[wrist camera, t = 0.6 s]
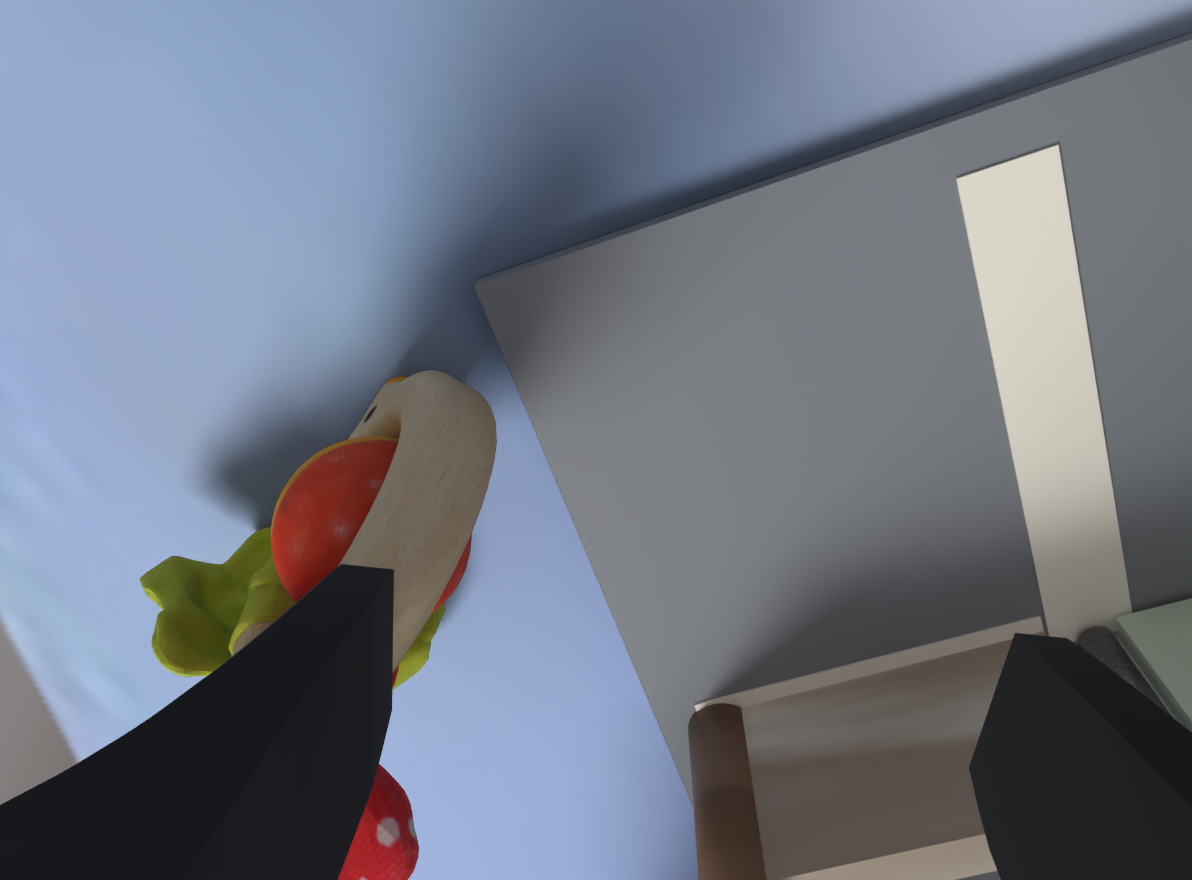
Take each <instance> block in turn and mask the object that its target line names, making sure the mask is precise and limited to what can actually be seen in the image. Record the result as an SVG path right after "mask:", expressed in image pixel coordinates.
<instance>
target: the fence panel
mask: <svg viewBox="0 0 1192 880" xmlns="http://www.w3.org/2000/svg"><path fill="white" fill-rule="evenodd" d="M1116 623H1117V629H1118V635H1119V641H1120V642H1119V641H1118V640H1117V638H1116V637H1115V635H1114V634H1113V633H1112V631H1111V630H1110V629H1108V628H1106V627H1103V626H1095V627H1091V628H1088V629H1086V630H1085V631H1083V632H1082V633H1081V634H1080V636H1079V637H1078V639H1077V645H1078V646H1080V647H1081V648H1083V649H1084V650H1086V651H1087V652H1088V653H1090V654H1091V655H1093V656H1094V657H1095V658H1097V659H1098V660H1099V661H1101V662H1102V663H1103V664H1105V665H1106V666H1107V667H1109V668H1110V669H1111V670H1113V671H1114V672H1115V673H1116V674H1118V675H1119V676H1120V677H1122V678H1123V679H1124V680H1126V681H1127V682H1128V683H1129V684H1131V685H1132V686H1133V687H1135V688H1136V689H1137V690H1138V691H1140V692H1141V693H1142V694H1143V695H1145V696H1146V697H1147V698H1148V699H1150V700H1151V701H1152V702H1154V703H1155V704H1156V705H1157V706H1159V707H1160V708H1161V709H1162V710H1164V711H1165V712H1166V713H1168V714H1169V715H1170V716H1171V717H1173V718H1174V719H1175V720H1176V721H1178V722H1179V723H1180V724H1182V725H1183V726H1184V727H1185V728H1187V729H1188V730H1189V731H1191V732H1192V598H1191V599H1187V600H1183V601H1179V602H1175V603H1171V604H1167V605H1163V606H1159V607H1155V608H1151V609H1147V610H1143V611H1139V612H1135V613H1131V614H1127V615H1123V616H1119V617H1116Z"/></svg>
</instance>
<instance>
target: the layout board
mask: <svg viewBox="0 0 1192 880" xmlns="http://www.w3.org/2000/svg"><path fill="white" fill-rule="evenodd" d="M474 288H475V290H476V292H477V295H478V297H479V300H480V302H481V304H482V307H483V309H484V311H485V314H486V316H487V319H488V321H489V323H490V326H491V328H492V330H493V333H494V335H495V338H496V340H497V342H498V345H499V347H500V349H501V352H502V354H503V357H504V359H505V361H506V364H507V366H508V369H509V371H510V373H511V376H512V378H513V380H514V383H515V385H516V388H517V390H518V392H519V395H520V397H521V399H522V402H523V404H524V407H525V409H526V411H527V414H528V416H529V418H530V421H531V423H532V426H533V428H534V430H535V433H536V435H537V437H538V440H539V442H540V445H541V447H542V449H543V452H544V454H545V456H546V459H547V461H548V464H549V466H550V468H551V471H552V473H553V475H554V478H555V480H556V483H557V485H558V487H559V490H560V492H561V494H562V497H563V499H564V502H565V504H566V506H567V509H568V511H569V513H570V516H571V518H572V521H573V523H574V525H575V528H576V530H577V532H578V535H579V537H580V540H581V542H582V544H583V547H584V549H585V551H586V554H587V556H588V559H589V561H590V563H591V566H592V568H593V570H594V573H595V575H596V578H597V580H598V582H599V585H600V587H601V589H602V592H603V594H604V597H605V599H606V601H607V604H608V606H609V608H610V611H611V613H612V616H613V618H614V620H615V623H616V625H617V627H618V630H619V632H620V635H621V637H622V639H623V642H624V644H625V646H626V649H627V651H628V654H629V656H630V658H631V661H632V663H633V665H634V668H635V670H636V673H637V675H638V677H639V680H640V682H641V685H642V687H643V689H644V692H645V694H646V696H647V699H648V701H649V704H650V706H651V708H652V711H653V713H654V715H655V718H656V720H657V723H658V725H659V727H660V730H661V732H662V734H663V737H664V739H665V742H666V744H667V746H668V749H669V751H670V753H671V756H672V758H673V761H674V763H675V765H676V768H677V770H678V772H679V775H680V777H681V780H682V782H683V784H684V787H685V789H686V791H687V794H688V796H689V799H690V801H691V803H692V806H693V808H694V805H693V791H692V777H691V764H690V750H689V736H688V724H689V721H690V718H691V717H692V715H693V714H694V713H695V712H696V711H697V712H698V711H699V710H701V709H702V708H704V707H706V706H709V705H712V704H718V703H727V704H733V705H736V706H739V707H741V708H742V707H746V706H750V705H754V704H757V703H761V702H765V701H769V700H773V699H777V698H781V697H785V696H789V695H793V694H797V693H801V692H805V691H809V690H813V689H817V688H821V687H825V686H829V685H833V684H837V683H841V682H845V681H848V680H852V679H856V678H860V677H864V676H868V675H872V674H876V673H880V672H884V671H888V670H892V669H896V668H900V667H904V666H908V665H912V664H916V663H920V662H924V661H928V660H932V659H935V658H939V657H943V656H947V655H951V654H955V653H959V652H963V651H967V650H971V649H975V648H979V647H983V646H987V645H991V644H995V643H999V642H1003V641H1007V640H1011V639H1013V637H1014V634H1015V633H1022V634H1034V633H1038V632H1042V631H1044V633H1045V634H1046V636H1051V637H1061V638H1068V639H1069V640H1071V641H1072V642H1074V643H1075V644H1077V639H1078V637H1079V636H1080V634H1081V633H1082V632H1083V631H1085V630H1086V629H1088V628H1091V627H1095V626H1103V627H1106V628H1108V629H1110V630H1111V631H1112V633H1113V634H1114V635H1115V637H1116V638H1117V640H1118V641H1119V635H1118V629H1117V623H1116V617H1119V616H1123V615H1127V614H1131V613H1135V612H1139V611H1143V610H1147V609H1151V608H1155V607H1159V606H1163V605H1167V604H1171V603H1175V602H1179V601H1183V600H1187V599H1191V598H1192V32H1191V33H1188V34H1185V35H1183V36H1180V37H1177V38H1174V39H1171V40H1168V41H1165V42H1162V43H1159V44H1157V45H1154V46H1151V47H1148V48H1145V49H1142V50H1139V51H1136V52H1133V53H1131V54H1128V55H1125V56H1122V57H1119V58H1116V59H1113V60H1110V61H1107V62H1104V63H1102V64H1099V65H1096V66H1093V67H1090V68H1087V69H1084V70H1081V71H1078V72H1076V73H1073V74H1070V75H1067V76H1064V77H1061V78H1058V79H1055V80H1052V81H1050V82H1047V83H1044V84H1041V85H1038V86H1035V87H1032V88H1029V89H1026V90H1023V91H1021V92H1018V93H1015V94H1012V95H1009V96H1006V97H1003V98H1000V99H997V100H995V101H992V102H989V103H986V104H983V105H980V106H977V107H974V108H971V109H969V110H966V111H963V112H960V113H957V114H954V115H951V116H948V117H945V118H943V119H940V120H937V121H934V122H931V123H928V124H925V125H922V126H919V127H916V128H914V129H911V130H908V131H905V132H902V133H899V134H896V135H893V136H890V137H888V138H885V139H882V140H879V141H876V142H873V143H870V144H867V145H864V146H862V147H859V148H856V149H853V150H850V151H847V152H844V153H841V154H838V155H835V156H833V157H830V158H827V159H824V160H821V161H818V162H815V163H812V164H809V165H807V166H804V167H801V168H798V169H795V170H792V171H789V172H786V173H783V174H781V175H778V176H775V177H772V178H769V179H766V180H763V181H760V182H757V183H754V184H752V185H749V186H746V187H743V188H740V189H737V190H734V191H731V192H728V193H726V194H723V195H720V196H717V197H714V198H711V199H708V200H705V201H702V202H700V203H697V204H694V205H691V206H688V207H685V208H682V209H679V210H676V211H673V212H671V213H668V214H665V215H662V216H659V217H656V218H653V219H650V220H647V221H645V222H642V223H639V224H636V225H633V226H630V227H627V228H624V229H621V230H619V231H616V232H613V233H610V234H607V235H604V236H601V237H598V238H595V239H592V240H590V241H587V242H584V243H581V244H578V245H575V246H572V247H569V248H566V249H564V250H561V251H558V252H555V253H552V254H549V255H546V256H543V257H540V258H538V259H535V260H532V261H529V262H526V263H523V264H520V265H517V266H514V267H512V268H509V269H506V270H503V271H500V272H497V273H494V274H491V275H488V276H485V277H483V278H480V279H477V282H476V284H475V286H474ZM1119 642H1120V641H1119ZM998 879H1000V876H999V874H998V871H993V872H988V873H984V874H979V875H974V876H970V877H965V878H960V879H956V880H998Z"/></svg>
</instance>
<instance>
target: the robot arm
mask: <svg viewBox="0 0 1192 880" xmlns="http://www.w3.org/2000/svg"><path fill="white" fill-rule="evenodd" d="M393 606H394V569H386V568H376V567H366V566H356V565H347V564H341V565H339V566H338V567H337V568H335V569H334V570H333V571H332V572H330V573H329V574H328V575H327V576H326V577H325V578H323V579H322V580H321V581H320V582H319V583H318V584H316V585H315V586H314V587H313V588H312V589H311V590H310V591H309V592H307V593H306V594H305V595H304V596H303V597H302V598H301V599H300V600H298V601H297V602H296V603H295V604H294V605H293V606H292V607H290V608H289V609H288V610H287V611H286V612H285V613H283V614H282V615H281V616H280V617H279V618H278V619H277V620H275V621H274V622H273V623H272V624H271V625H270V626H268V627H267V628H266V629H265V630H264V631H262V632H261V633H260V634H259V635H258V636H256V637H255V638H254V639H253V640H251V641H250V642H249V643H248V644H247V645H245V646H244V647H243V648H242V649H241V650H239V651H238V652H237V653H236V654H234V655H233V656H232V657H231V658H230V659H228V660H227V661H226V662H225V663H223V664H222V665H221V666H220V667H218V668H217V669H216V670H214V671H213V672H212V673H211V674H209V675H208V676H207V677H205V678H204V679H202V680H201V681H200V682H198V683H197V684H196V685H194V686H193V687H192V688H190V689H189V690H188V691H186V692H185V693H184V694H182V695H181V696H179V697H178V698H177V699H175V700H174V701H173V702H171V703H170V704H169V705H167V706H166V707H165V708H163V709H162V710H160V711H159V712H158V713H156V714H155V715H153V716H152V717H150V718H149V719H148V720H146V721H145V722H143V723H142V724H140V725H139V726H137V727H136V728H134V729H133V730H131V731H129V732H128V733H126V734H125V735H123V736H122V737H120V738H119V739H117V740H115V741H114V742H112V743H110V744H109V745H107V746H105V747H104V748H102V749H100V750H99V751H97V752H96V753H94V754H92V755H91V756H89V757H87V758H86V759H84V760H82V761H81V762H79V763H77V764H76V765H74V766H72V767H71V768H69V769H67V770H65V771H64V772H62V773H60V774H58V775H56V776H55V777H53V778H51V779H49V780H47V781H45V782H43V783H41V784H39V785H37V786H36V787H34V788H32V789H30V790H28V791H26V792H24V793H22V794H20V795H18V796H17V797H15V798H13V799H11V800H9V801H7V802H5V803H3V804H1V805H0V880H338V878H339V875H340V873H341V870H342V868H343V865H344V862H345V860H346V857H347V855H348V852H349V849H350V847H351V844H352V841H353V839H354V836H355V833H356V831H357V828H358V825H359V823H360V820H361V818H362V815H363V812H364V810H365V807H366V804H367V802H368V799H369V796H370V793H371V791H372V788H373V784H374V780H375V776H376V772H377V768H378V764H379V761H380V757H381V753H382V749H383V745H384V740H385V736H386V732H387V728H388V724H389V720H390V716H391V711H392V672H393ZM969 771H970V775H971V779H972V784H973V788H974V792H975V796H976V801H977V805H978V809H979V813H980V817H981V821H982V824H983V828H984V832H985V835H986V839H987V843H988V846H989V850H990V853H991V855H992V858H993V861H994V863H995V866H996V868H997V871H998V874H999V876H1000V879H1001V880H1192V732H1191V731H1189V730H1188V729H1187V728H1185V727H1184V726H1183V725H1182V724H1180V723H1179V722H1178V721H1176V720H1175V719H1174V718H1173V717H1171V716H1170V715H1169V714H1168V713H1166V712H1165V711H1164V710H1162V709H1161V708H1160V707H1159V706H1157V705H1156V704H1155V703H1154V702H1152V701H1151V700H1150V699H1148V698H1147V697H1146V696H1145V695H1143V694H1142V693H1141V692H1140V691H1138V690H1137V689H1136V688H1135V687H1133V686H1132V685H1131V684H1129V683H1128V682H1127V681H1126V680H1124V679H1123V678H1122V677H1120V676H1119V675H1118V674H1116V673H1115V672H1114V671H1113V670H1111V669H1110V668H1109V667H1107V666H1106V665H1105V664H1103V663H1102V662H1101V661H1099V660H1098V659H1097V658H1095V657H1094V656H1093V655H1091V654H1090V653H1088V652H1087V651H1086V650H1084V649H1083V648H1081V647H1080V646H1078V645H1077V644H1075V643H1074V642H1072V641H1071V640H1069V639H1068V638H1061V637H1051V636H1041V635H1031V634H1022V633H1015V634H1014V637H1013V640H1012V642H1011V645H1010V648H1009V651H1008V654H1007V657H1006V660H1005V663H1004V666H1003V669H1002V672H1001V675H1000V678H999V680H998V683H997V686H996V689H995V692H994V695H993V698H992V701H991V704H990V707H989V710H988V713H987V715H986V718H985V721H984V724H983V727H982V730H981V733H980V736H979V739H978V742H977V745H976V748H975V751H974V753H973V756H972V759H971V762H970V765H969Z"/></svg>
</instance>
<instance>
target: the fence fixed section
mask: <svg viewBox="0 0 1192 880" xmlns="http://www.w3.org/2000/svg"><path fill="white" fill-rule="evenodd" d="M1031 635H1041V636H1046V634H1045V633H1044V631H1042V632H1038V633H1034V634H1031ZM1012 640H1013V639H1011V640H1007V641H1003V642H999V643H995V644H991V645H987V646H983V647H979V648H975V649H971V650H967V651H963V652H959V653H955V654H951V655H947V656H943V657H939V658H935V659H932V660H928V661H924V662H920V663H916V664H912V665H908V666H904V667H900V668H896V669H892V670H888V671H884V672H880V673H876V674H872V675H868V676H864V677H860V678H856V679H852V680H848V681H845V682H841V683H837V684H833V685H829V686H825V687H821V688H817V689H813V690H809V691H805V692H801V693H797V694H793V695H789V696H785V697H781V698H777V699H773V700H769V701H765V702H761V703H757V704H754V705H750V706H746V707H742V708H741V707H739V706H736V705H733V704H727V703H718V704H712V705H709V706H706V707H704V708H702V709H701V710H699V711H698V712H697V711H696V712H695V713H694V714H693V715H692V717H691V718H690V721H689V724H688V736H689V750H690V764H691V777H692V791H693V805H694V818H695V832H696V846H697V859H698V873H699V880H956V879H960V878H965V877H970V876H974V875H979V874H984V873H988V872H993V871H997V868H996V866H995V863H994V861H993V858H992V855H991V853H990V850H989V846H988V843H987V839H986V835H985V832H984V828H983V824H982V821H981V817H980V813H979V809H978V805H977V801H976V796H975V792H974V788H973V784H972V779H971V775H970V771H969V765H970V762H971V759H972V756H973V753H974V751H975V748H976V745H977V742H978V739H979V736H980V733H981V730H982V727H983V724H984V721H985V718H986V715H987V713H988V710H989V707H990V704H991V701H992V698H993V695H994V692H995V689H996V686H997V683H998V680H999V678H1000V675H1001V672H1002V669H1003V666H1004V663H1005V660H1006V657H1007V654H1008V651H1009V648H1010V645H1011V642H1012Z"/></svg>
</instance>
